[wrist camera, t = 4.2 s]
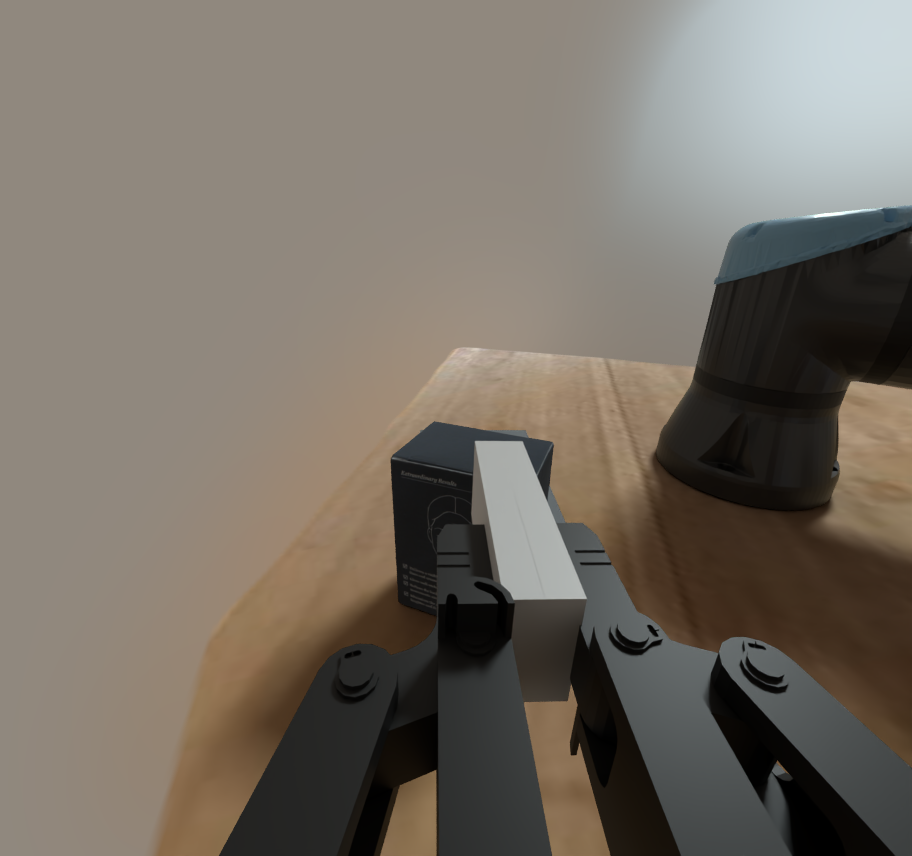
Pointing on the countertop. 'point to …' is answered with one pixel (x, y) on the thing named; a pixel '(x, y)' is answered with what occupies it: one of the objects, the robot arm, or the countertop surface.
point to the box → (440, 499)
